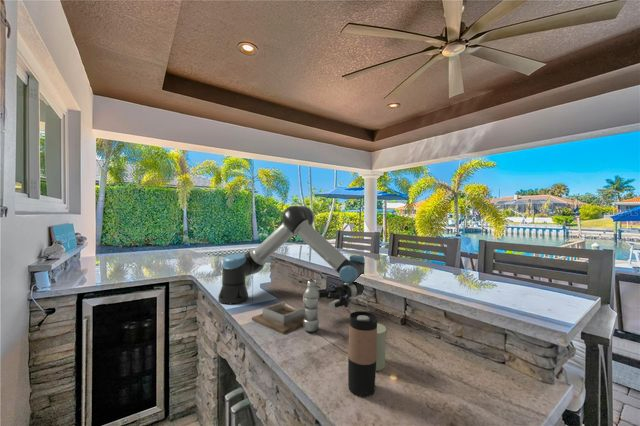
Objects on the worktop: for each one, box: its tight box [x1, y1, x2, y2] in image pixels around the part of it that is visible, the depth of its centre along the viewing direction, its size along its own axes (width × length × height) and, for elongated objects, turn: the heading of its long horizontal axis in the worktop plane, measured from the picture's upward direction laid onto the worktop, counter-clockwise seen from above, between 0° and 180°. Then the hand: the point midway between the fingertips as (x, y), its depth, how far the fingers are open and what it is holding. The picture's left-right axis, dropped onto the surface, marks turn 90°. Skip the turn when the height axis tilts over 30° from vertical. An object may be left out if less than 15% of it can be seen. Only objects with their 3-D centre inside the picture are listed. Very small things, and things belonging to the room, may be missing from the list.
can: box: [376, 322, 387, 372], centre depth 89 cm, size 9×9×12 cm
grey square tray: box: [262, 300, 305, 326], centre depth 122 cm, size 13×13×4 cm
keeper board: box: [251, 305, 304, 335], centre depth 122 cm, size 20×20×1 cm
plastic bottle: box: [302, 279, 320, 333], centre depth 112 cm, size 6×7×20 cm
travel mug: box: [347, 310, 378, 398], centre depth 76 cm, size 8×8×20 cm
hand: (315, 302), depth 113 cm, fingers open, 13 cm apart
